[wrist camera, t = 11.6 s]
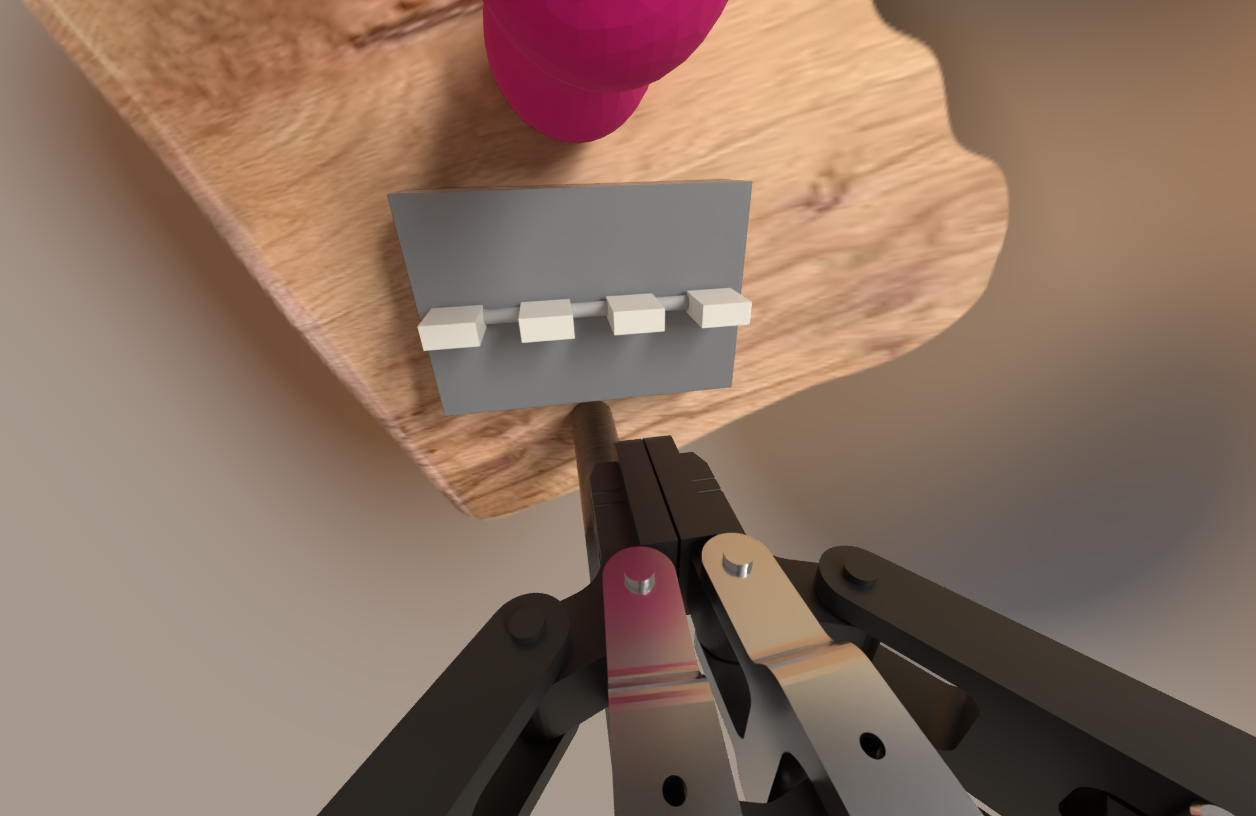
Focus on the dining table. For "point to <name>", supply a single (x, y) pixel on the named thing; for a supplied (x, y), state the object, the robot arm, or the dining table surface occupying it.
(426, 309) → the breaker panel
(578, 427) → the black cord post
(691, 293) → the breaker paddles
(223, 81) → the dining table surface
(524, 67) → the pepper mill
